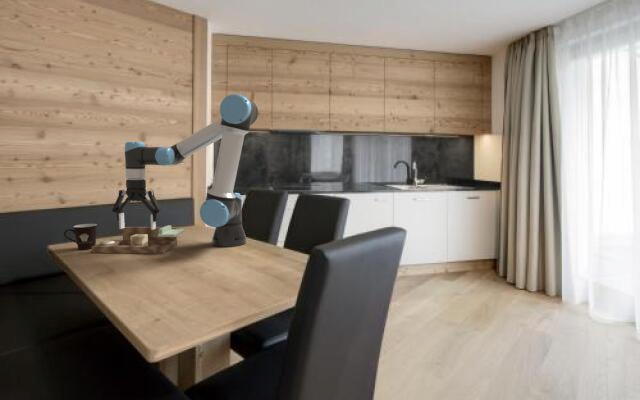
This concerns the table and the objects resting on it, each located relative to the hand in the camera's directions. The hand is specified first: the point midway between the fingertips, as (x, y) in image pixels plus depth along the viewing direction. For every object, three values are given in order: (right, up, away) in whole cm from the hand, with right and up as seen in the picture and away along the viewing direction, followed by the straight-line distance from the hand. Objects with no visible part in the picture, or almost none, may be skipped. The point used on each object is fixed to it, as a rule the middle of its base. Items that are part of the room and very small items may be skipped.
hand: (137, 228), depth 165 cm
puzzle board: (-1, -9, +1) cm, 9 cm away
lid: (+15, -2, 0) cm, 15 cm away
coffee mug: (-25, -9, +2) cm, 26 cm away
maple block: (0, -9, +1) cm, 9 cm away
